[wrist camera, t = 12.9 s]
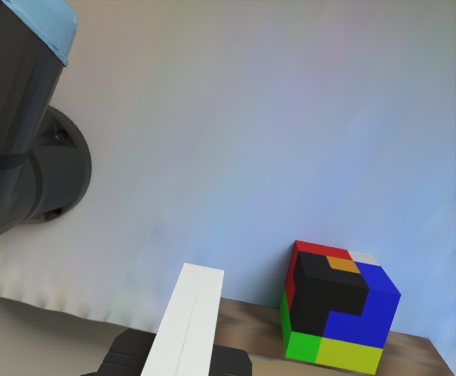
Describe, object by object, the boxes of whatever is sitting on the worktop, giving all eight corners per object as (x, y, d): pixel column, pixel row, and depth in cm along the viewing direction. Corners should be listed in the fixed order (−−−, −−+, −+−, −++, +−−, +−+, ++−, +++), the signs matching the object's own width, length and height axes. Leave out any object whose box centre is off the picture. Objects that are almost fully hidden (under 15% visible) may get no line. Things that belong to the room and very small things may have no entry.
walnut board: (205, 310, 54) (199, 343, 47) (208, 295, 53) (202, 325, 46) (423, 353, 53) (447, 392, 46) (428, 338, 53) (454, 375, 46)
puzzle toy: (372, 254, 50) (401, 294, 41) (352, 322, 53) (374, 374, 43) (295, 239, 50) (305, 276, 41) (279, 307, 53) (285, 357, 43)
